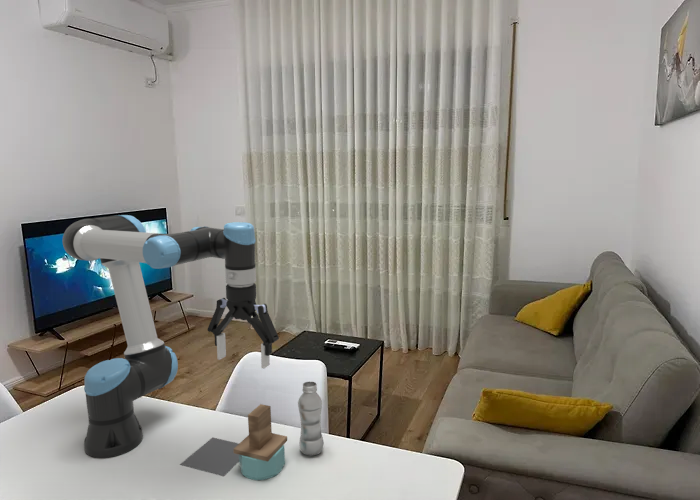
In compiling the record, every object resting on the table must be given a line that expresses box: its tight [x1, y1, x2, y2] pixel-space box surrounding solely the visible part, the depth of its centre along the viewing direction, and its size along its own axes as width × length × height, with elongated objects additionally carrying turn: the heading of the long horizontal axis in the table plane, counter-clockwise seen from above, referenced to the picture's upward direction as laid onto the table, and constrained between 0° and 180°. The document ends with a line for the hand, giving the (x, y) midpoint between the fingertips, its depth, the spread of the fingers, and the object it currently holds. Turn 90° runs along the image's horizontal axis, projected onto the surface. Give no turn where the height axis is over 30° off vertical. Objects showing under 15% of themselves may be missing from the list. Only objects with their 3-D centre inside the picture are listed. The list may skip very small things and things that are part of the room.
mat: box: [179, 437, 240, 477], centre depth 135 cm, size 14×14×1 cm
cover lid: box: [233, 403, 288, 462], centre depth 128 cm, size 10×10×10 cm
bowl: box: [238, 444, 286, 481], centre depth 130 cm, size 11×11×6 cm
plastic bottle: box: [297, 381, 324, 457], centre depth 135 cm, size 6×7×20 cm
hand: (243, 362), depth 130 cm, fingers open, 13 cm apart
